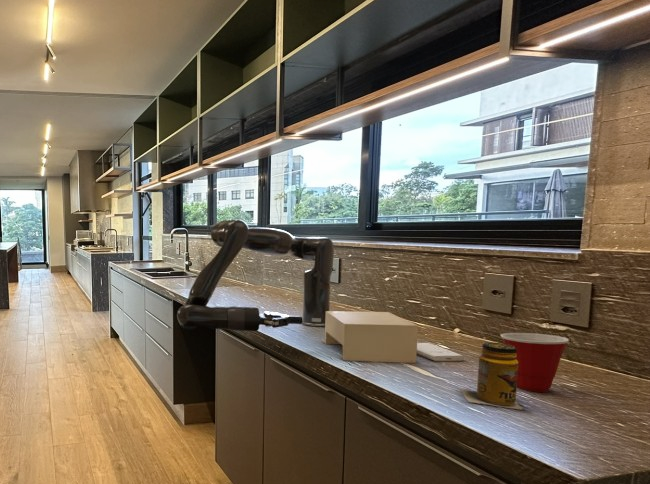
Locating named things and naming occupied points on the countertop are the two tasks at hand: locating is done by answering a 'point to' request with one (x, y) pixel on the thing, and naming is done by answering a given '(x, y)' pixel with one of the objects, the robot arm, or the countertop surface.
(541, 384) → the plastic cup
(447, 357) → the hard drive
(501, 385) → the condiment
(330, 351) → the countertop surface
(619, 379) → the countertop surface
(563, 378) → the countertop surface
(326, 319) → the cover
